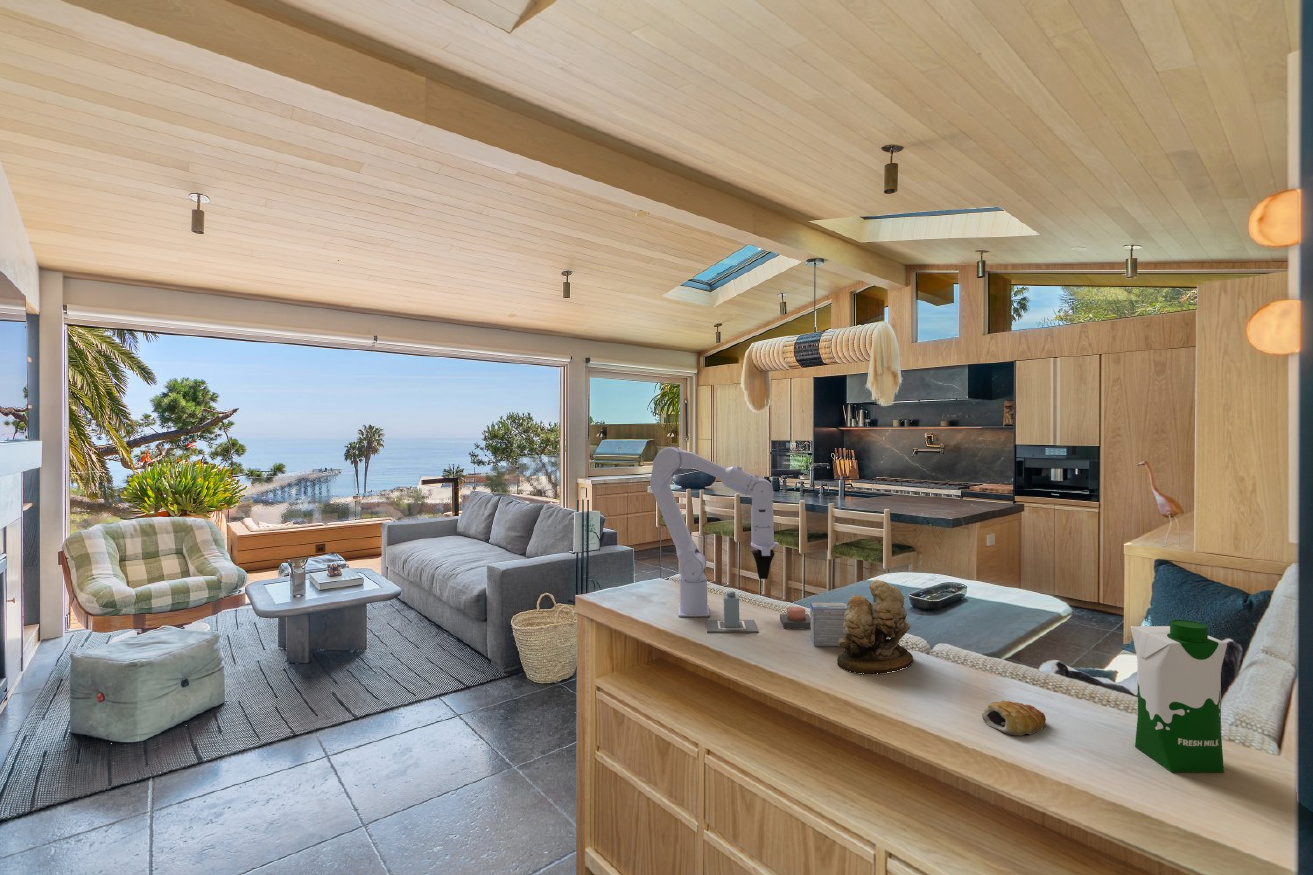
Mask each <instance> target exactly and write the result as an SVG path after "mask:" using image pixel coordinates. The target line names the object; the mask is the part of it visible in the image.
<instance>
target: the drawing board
mask: <svg viewBox="0 0 1313 875" xmlns="http://www.w3.org/2000/svg"><path fill="white" fill-rule="evenodd" d="M705 624H706V632H707V634H718V633H720V634H729V633H730V634H735V633H736V634H746V633H747V634H756V633H757V634H758V633H759V629H758V627H757V624H756V621H755V619H739V627H725V625H724V619H705Z"/></svg>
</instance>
